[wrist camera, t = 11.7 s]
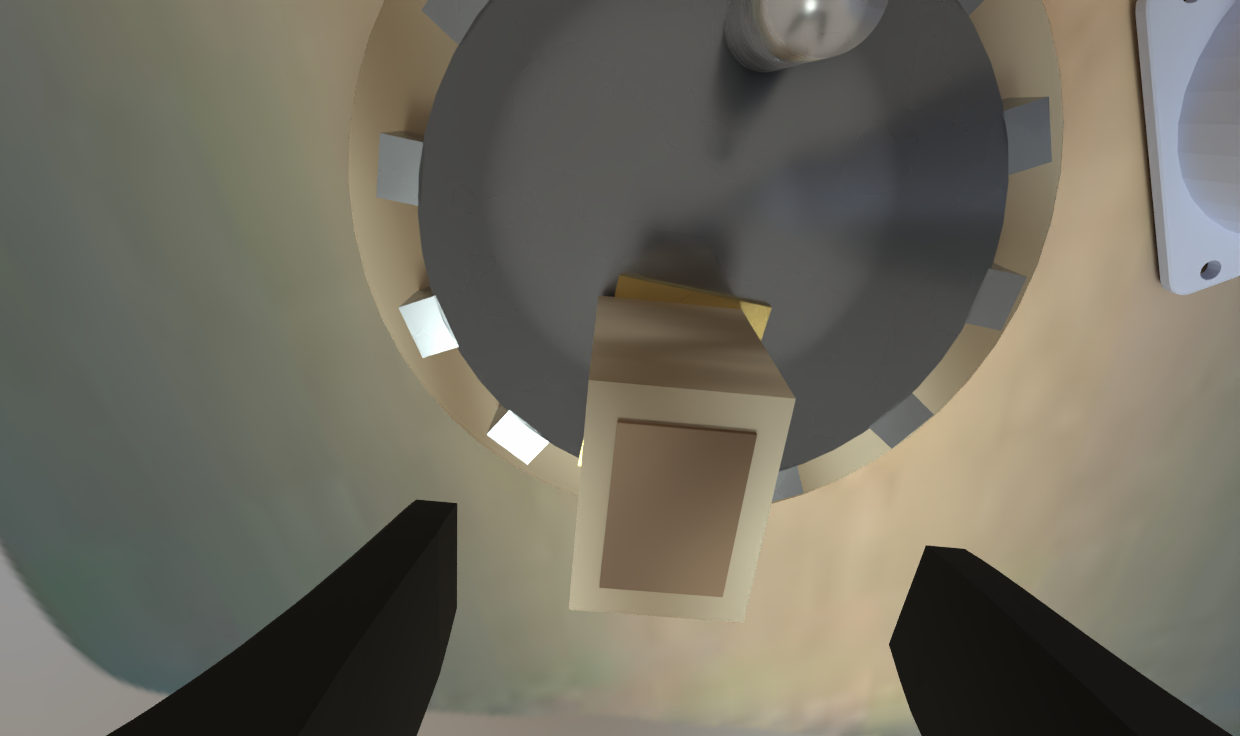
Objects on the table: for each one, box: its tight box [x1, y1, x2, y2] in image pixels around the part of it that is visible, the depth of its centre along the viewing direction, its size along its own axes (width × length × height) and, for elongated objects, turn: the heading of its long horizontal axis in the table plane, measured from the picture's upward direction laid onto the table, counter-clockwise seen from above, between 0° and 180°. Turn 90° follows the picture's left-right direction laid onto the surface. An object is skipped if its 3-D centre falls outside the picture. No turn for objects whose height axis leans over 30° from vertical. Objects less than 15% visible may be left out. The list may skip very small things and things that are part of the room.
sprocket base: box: [349, 0, 1064, 504], centre depth 15 cm, size 18×18×3 cm
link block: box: [569, 296, 796, 623], centre depth 13 cm, size 4×5×5 cm
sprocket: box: [376, 0, 1052, 502], centre depth 13 cm, size 15×15×6 cm
